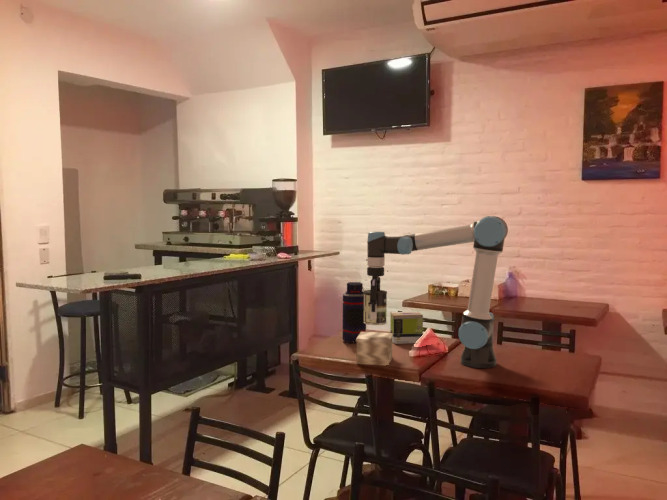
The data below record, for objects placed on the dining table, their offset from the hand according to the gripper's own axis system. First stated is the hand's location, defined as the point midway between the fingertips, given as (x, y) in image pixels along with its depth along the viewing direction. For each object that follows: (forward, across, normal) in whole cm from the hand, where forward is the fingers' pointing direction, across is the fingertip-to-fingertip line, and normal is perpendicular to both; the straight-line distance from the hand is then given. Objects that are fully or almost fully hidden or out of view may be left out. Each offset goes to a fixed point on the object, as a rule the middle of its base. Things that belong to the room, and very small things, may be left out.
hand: (375, 316), depth 249 cm
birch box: (+20, 0, 0) cm, 20 cm away
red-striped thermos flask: (+20, -34, -15) cm, 42 cm away
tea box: (+20, -39, +11) cm, 45 cm away
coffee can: (+3, 0, 0) cm, 3 cm away
